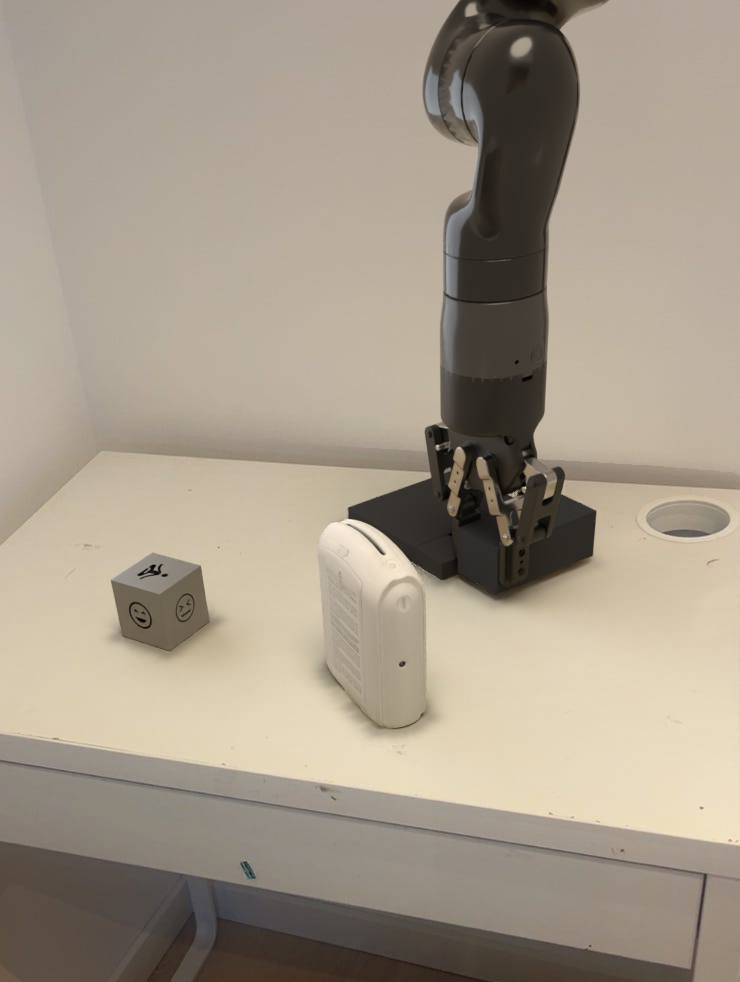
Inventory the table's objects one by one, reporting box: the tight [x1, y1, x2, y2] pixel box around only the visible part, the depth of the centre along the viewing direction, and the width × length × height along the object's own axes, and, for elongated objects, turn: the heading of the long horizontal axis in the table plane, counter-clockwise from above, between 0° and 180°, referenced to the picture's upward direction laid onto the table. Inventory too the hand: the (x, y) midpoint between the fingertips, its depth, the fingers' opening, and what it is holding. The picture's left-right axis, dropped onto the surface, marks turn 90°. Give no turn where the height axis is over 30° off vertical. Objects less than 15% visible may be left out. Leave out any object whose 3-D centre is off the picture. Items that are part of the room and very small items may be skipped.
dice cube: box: [110, 552, 210, 652], centre depth 92 cm, size 5×5×5 cm
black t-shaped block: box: [458, 493, 597, 596], centre depth 95 cm, size 10×8×4 cm
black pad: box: [347, 470, 460, 581], centre depth 102 cm, size 12×14×2 cm
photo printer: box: [317, 518, 428, 729], centre depth 80 cm, size 10×4×12 cm, turn 23°
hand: (489, 568), depth 93 cm, fingers closed on black t-shaped block, 5 cm apart
